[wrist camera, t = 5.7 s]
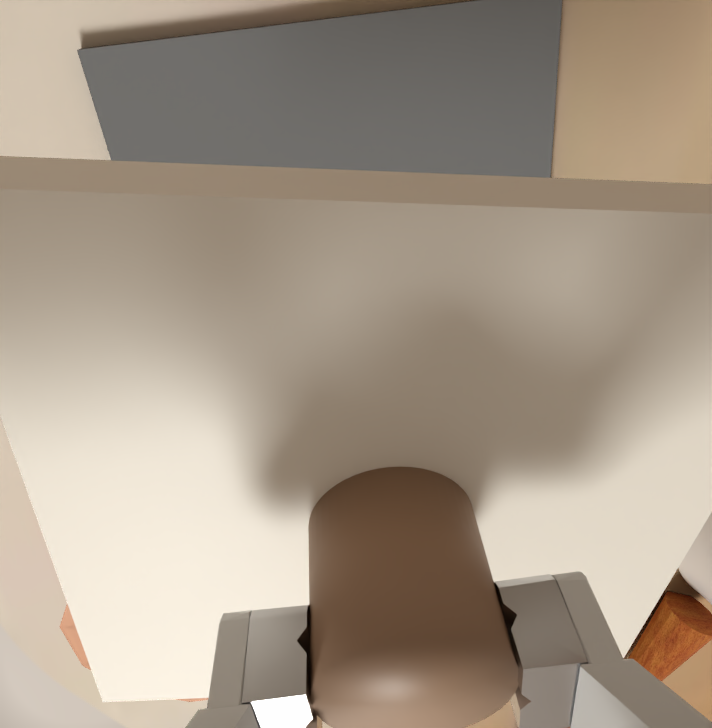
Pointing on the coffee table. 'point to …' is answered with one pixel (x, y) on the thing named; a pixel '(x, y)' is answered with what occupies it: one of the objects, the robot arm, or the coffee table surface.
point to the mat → (343, 92)
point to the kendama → (673, 635)
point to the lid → (351, 412)
